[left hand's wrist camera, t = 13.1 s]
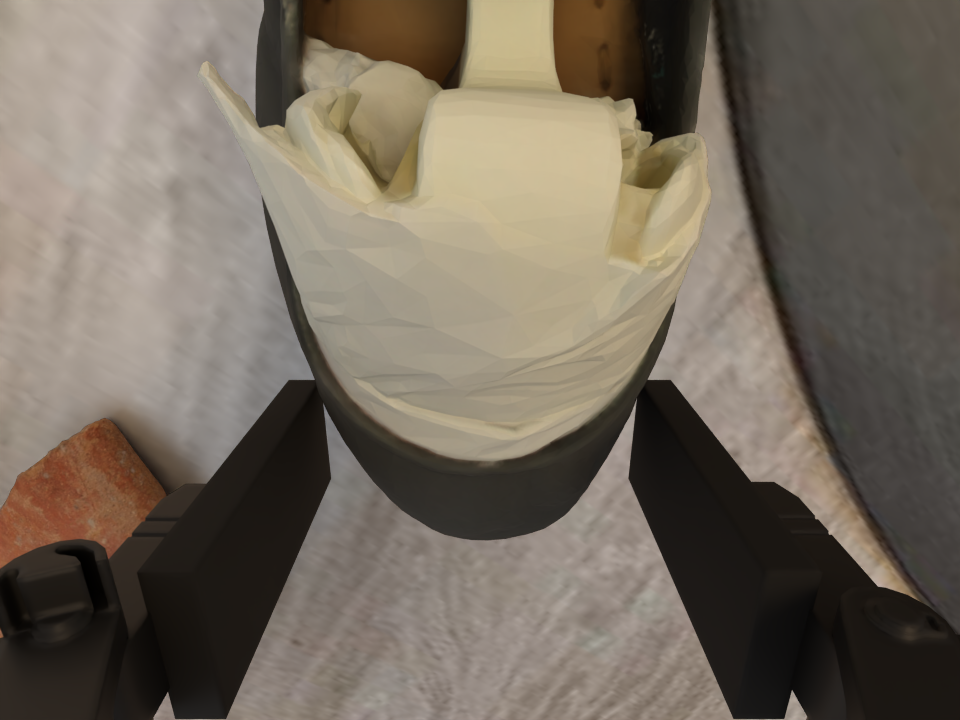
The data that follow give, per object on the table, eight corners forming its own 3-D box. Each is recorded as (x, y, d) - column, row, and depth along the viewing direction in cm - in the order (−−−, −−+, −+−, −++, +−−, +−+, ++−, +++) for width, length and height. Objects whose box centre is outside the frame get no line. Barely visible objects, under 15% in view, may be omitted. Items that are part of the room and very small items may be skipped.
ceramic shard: (-175, 576, 29) (82, 425, 28) (-62, 518, 35) (149, 394, 34) (17, 789, 31) (254, 656, 31) (89, 699, 38) (287, 587, 37)
